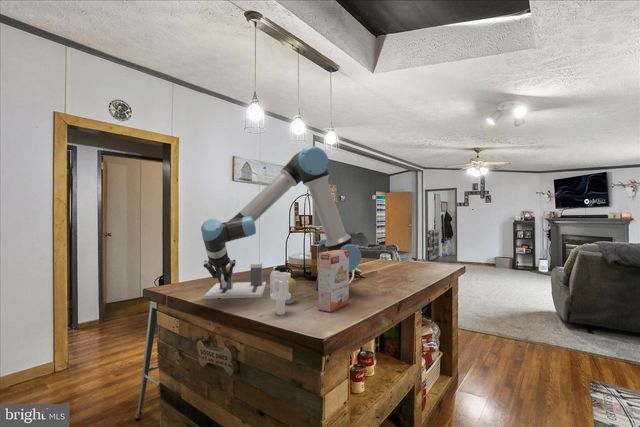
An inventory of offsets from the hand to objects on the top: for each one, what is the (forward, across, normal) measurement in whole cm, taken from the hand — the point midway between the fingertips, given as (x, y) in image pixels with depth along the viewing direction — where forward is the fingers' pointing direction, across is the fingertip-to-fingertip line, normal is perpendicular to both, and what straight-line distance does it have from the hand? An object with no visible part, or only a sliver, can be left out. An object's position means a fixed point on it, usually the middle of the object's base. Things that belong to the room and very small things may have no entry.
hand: (224, 285), depth 147 cm
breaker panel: (+5, -5, 0) cm, 7 cm away
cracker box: (-17, -45, +23) cm, 53 cm away
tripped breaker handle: (+4, 0, -1) cm, 4 cm away
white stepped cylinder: (-21, -25, +26) cm, 42 cm away
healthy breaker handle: (+8, -13, -5) cm, 16 cm away
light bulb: (-12, -28, +17) cm, 35 cm away
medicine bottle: (0, -24, +6) cm, 25 cm away
